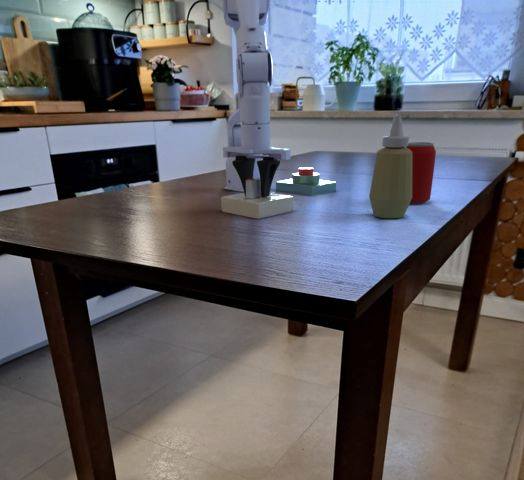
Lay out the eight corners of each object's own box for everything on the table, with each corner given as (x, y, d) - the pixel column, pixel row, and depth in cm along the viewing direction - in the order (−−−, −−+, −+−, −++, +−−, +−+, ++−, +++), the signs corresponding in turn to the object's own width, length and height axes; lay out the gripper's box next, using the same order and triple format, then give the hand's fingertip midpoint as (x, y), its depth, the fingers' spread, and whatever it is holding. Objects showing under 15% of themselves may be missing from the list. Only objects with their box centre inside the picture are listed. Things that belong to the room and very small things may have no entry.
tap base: (221, 211, 108) (220, 196, 106) (256, 204, 114) (256, 189, 113) (258, 219, 100) (257, 202, 99) (293, 211, 107) (293, 195, 105)
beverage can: (426, 199, 116) (433, 141, 111) (432, 204, 110) (440, 144, 105) (396, 199, 117) (401, 142, 111) (400, 204, 111) (406, 144, 105)
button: (295, 175, 127) (295, 168, 127) (305, 174, 130) (305, 166, 129) (306, 177, 125) (306, 169, 124) (316, 175, 127) (316, 168, 126)
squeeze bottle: (385, 222, 96) (395, 116, 88) (359, 214, 102) (365, 115, 94) (419, 217, 99) (430, 114, 91) (391, 210, 106) (400, 113, 98)
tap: (261, 193, 108) (260, 175, 107) (267, 194, 108) (267, 175, 106) (246, 198, 104) (245, 179, 102) (252, 198, 103) (251, 179, 102)
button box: (275, 190, 130) (275, 174, 128) (299, 186, 136) (299, 170, 134) (312, 196, 122) (312, 178, 120) (335, 191, 128) (336, 174, 126)
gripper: (212, 124, 100) (216, 196, 106) (278, 125, 93) (278, 201, 99) (232, 122, 105) (235, 191, 112) (296, 123, 99) (295, 196, 105)
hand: (256, 195), depth 106 cm, fingers open, 3 cm apart
